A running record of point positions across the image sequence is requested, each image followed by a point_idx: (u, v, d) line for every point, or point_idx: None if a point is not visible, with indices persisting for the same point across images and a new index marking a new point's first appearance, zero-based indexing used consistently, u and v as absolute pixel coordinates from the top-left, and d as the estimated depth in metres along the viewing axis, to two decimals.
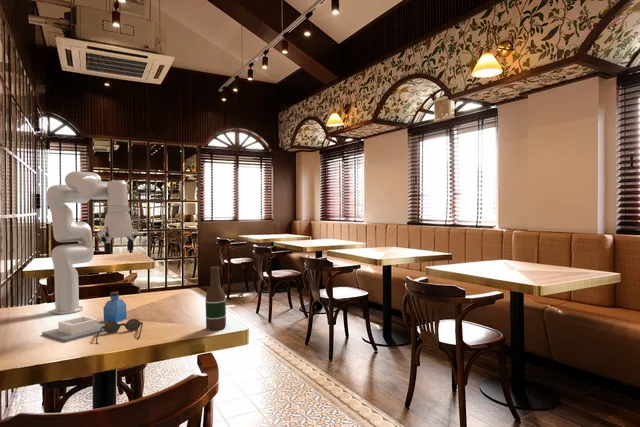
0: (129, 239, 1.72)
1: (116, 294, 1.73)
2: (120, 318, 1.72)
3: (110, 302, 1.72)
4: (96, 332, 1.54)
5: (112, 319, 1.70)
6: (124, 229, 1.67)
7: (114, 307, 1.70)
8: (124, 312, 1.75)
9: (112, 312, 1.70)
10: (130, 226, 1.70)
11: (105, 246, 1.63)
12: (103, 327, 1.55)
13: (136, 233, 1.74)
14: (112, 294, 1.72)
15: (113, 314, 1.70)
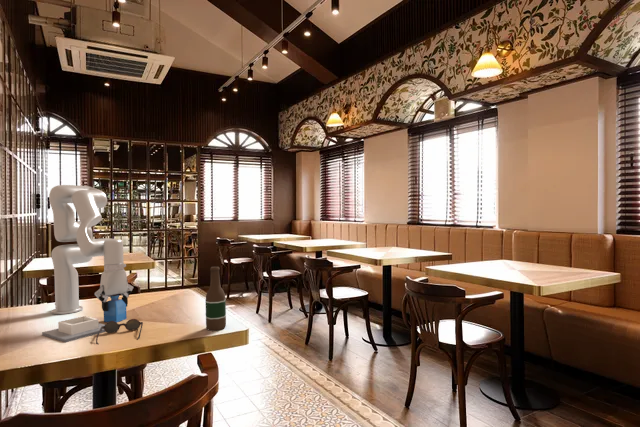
0: (123, 295, 1.77)
1: (116, 294, 1.73)
2: (120, 318, 1.72)
3: (110, 302, 1.71)
4: (96, 332, 1.54)
5: (112, 318, 1.70)
6: (120, 286, 1.73)
7: (115, 307, 1.70)
8: (124, 312, 1.75)
9: (112, 312, 1.70)
10: (126, 282, 1.76)
11: (103, 305, 1.69)
12: (103, 327, 1.55)
13: (130, 289, 1.79)
14: None
15: (113, 314, 1.70)
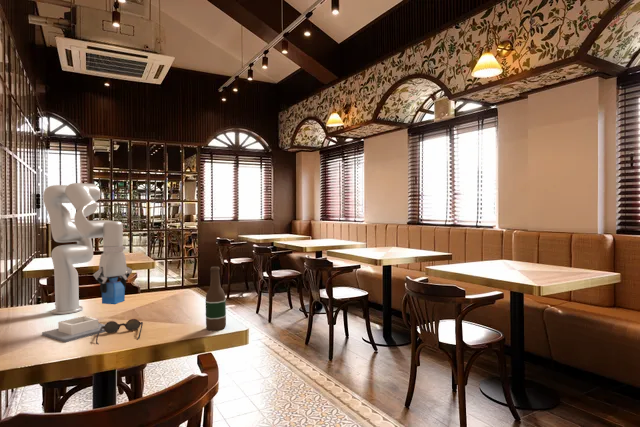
0: (122, 277, 1.78)
1: (115, 276, 1.73)
2: (118, 300, 1.72)
3: (109, 284, 1.72)
4: (96, 332, 1.54)
5: (110, 300, 1.71)
6: (118, 268, 1.73)
7: (113, 289, 1.70)
8: (122, 294, 1.75)
9: (110, 294, 1.71)
10: (124, 265, 1.76)
11: (101, 286, 1.69)
12: (103, 327, 1.55)
13: (129, 272, 1.79)
14: None
15: (111, 295, 1.71)
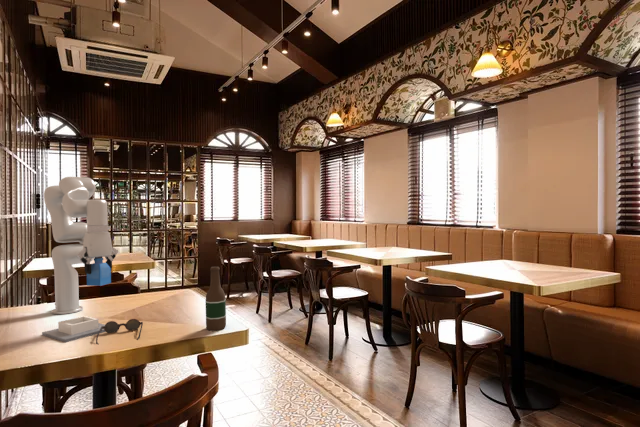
0: (107, 259, 1.70)
1: None
2: (104, 281, 1.65)
3: (94, 265, 1.64)
4: (96, 332, 1.54)
5: (95, 282, 1.63)
6: (104, 248, 1.66)
7: (98, 269, 1.63)
8: (108, 276, 1.68)
9: (96, 275, 1.63)
10: (110, 245, 1.68)
11: (85, 267, 1.62)
12: (103, 327, 1.55)
13: (115, 253, 1.72)
14: None
15: (96, 277, 1.63)
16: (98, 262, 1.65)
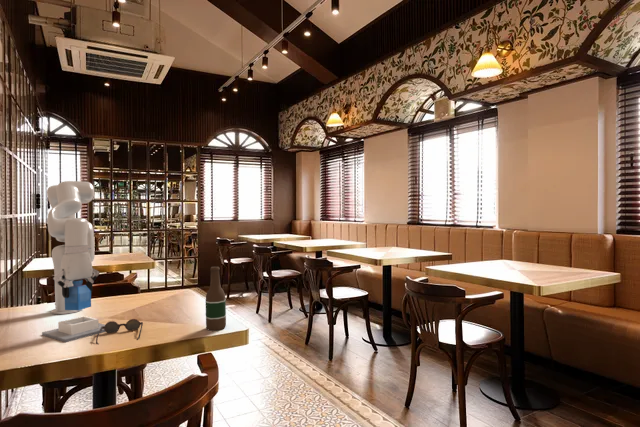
0: (88, 281, 1.61)
1: (79, 279, 1.56)
2: (83, 305, 1.55)
3: (72, 288, 1.55)
4: (96, 332, 1.54)
5: (73, 306, 1.54)
6: (83, 270, 1.57)
7: (76, 293, 1.54)
8: (88, 299, 1.58)
9: (74, 299, 1.54)
10: (90, 266, 1.59)
11: (63, 290, 1.53)
12: (103, 327, 1.55)
13: (96, 274, 1.63)
14: None
15: (75, 301, 1.54)
16: (77, 285, 1.56)
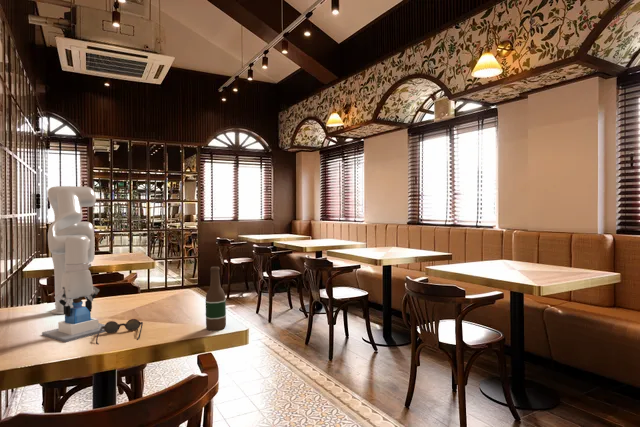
0: (87, 299, 1.60)
1: (78, 301, 1.56)
2: None
3: (71, 309, 1.55)
4: (96, 332, 1.54)
5: None
6: (83, 288, 1.57)
7: (74, 315, 1.53)
8: None
9: (72, 321, 1.54)
10: (90, 284, 1.59)
11: (64, 309, 1.53)
12: (103, 327, 1.55)
13: (96, 292, 1.62)
14: (74, 300, 1.56)
15: (72, 323, 1.53)
16: (76, 307, 1.56)
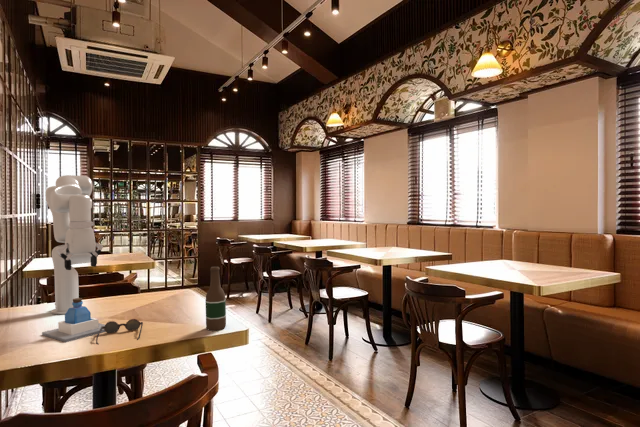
0: (92, 254, 1.67)
1: (78, 301, 1.56)
2: None
3: (71, 309, 1.55)
4: (96, 332, 1.54)
5: None
6: (86, 245, 1.62)
7: (74, 315, 1.53)
8: None
9: (72, 321, 1.54)
10: (93, 242, 1.64)
11: (65, 263, 1.58)
12: (103, 327, 1.54)
13: (100, 248, 1.68)
14: (74, 300, 1.56)
15: (72, 323, 1.53)
16: (76, 307, 1.56)
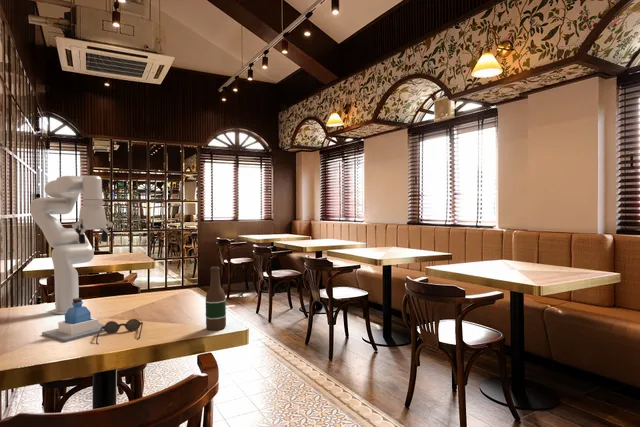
0: (103, 231, 1.82)
1: (78, 301, 1.56)
2: None
3: (71, 309, 1.55)
4: (96, 332, 1.54)
5: None
6: (98, 221, 1.78)
7: (74, 315, 1.53)
8: None
9: (72, 321, 1.54)
10: (104, 219, 1.80)
11: (79, 237, 1.73)
12: (103, 327, 1.54)
13: (110, 225, 1.84)
14: (74, 300, 1.56)
15: (72, 323, 1.53)
16: (76, 307, 1.56)
